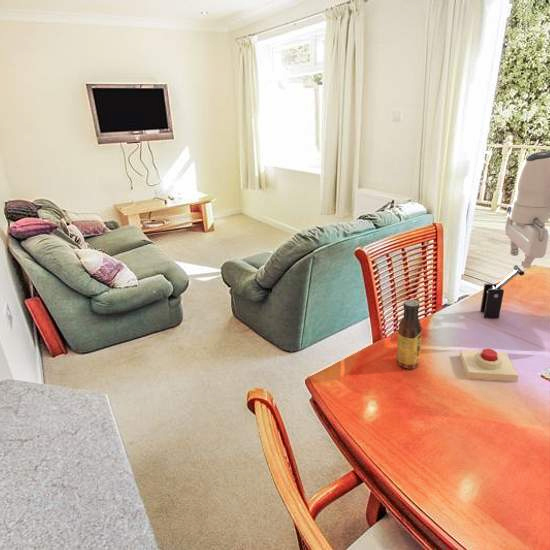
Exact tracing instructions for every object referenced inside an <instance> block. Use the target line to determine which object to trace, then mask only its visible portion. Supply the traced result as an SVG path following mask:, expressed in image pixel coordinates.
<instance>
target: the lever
mask: <svg viewBox="0 0 550 550" xmlns="http://www.w3.org/2000/svg"><path fill="white" fill-rule="evenodd" d="M518 275H519V276H524V275H525V271H524V270H523V269H522V268H521V267H520V266H519V265H518V264H516V265H515V264H514V265H513V272H511V273H510V274H509V275H508V276H507V277H505V278H504V279H503V280H502V281H501V282H499V283H497V284H498V285H497V286H496V287H495V286H492V287H490V288H489V289H503V287H505V286H506V285H507V284H508V283H509V282H510V281H511V280H513V279H514V278H515V277H516V276H518ZM487 293H488V290H487Z"/></svg>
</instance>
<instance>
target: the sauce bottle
mask: <svg viewBox="0 0 550 550" xmlns="http://www.w3.org/2000/svg"><path fill="white" fill-rule="evenodd" d="M419 309H420V302H419V301H417V300H414V299H407V300H404V301H403V314H402V315H403V316H402V318H401V319H400V321H399V323H398V332H397V347H396V349H397V350H396V351H397V352H396V359H397V360H396V362H397V364H398V366H400V367H401V368H402V367H403V369H405V368H407V369H406V370H414V369H417V368H418V367H419V365H420V360H421V347H422V335H423V333H422V332H423V328H422V324H421V321H420V319H419Z"/></svg>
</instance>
